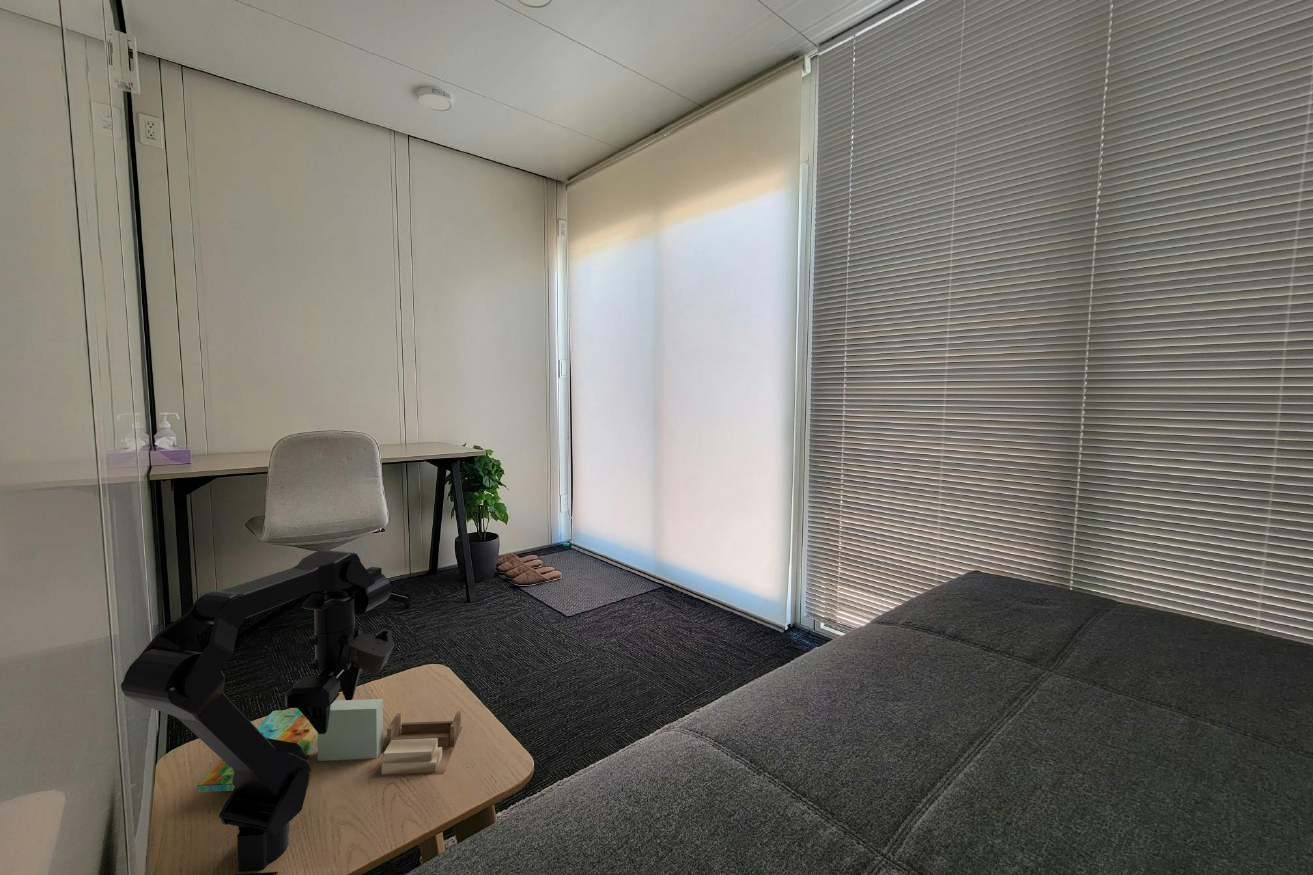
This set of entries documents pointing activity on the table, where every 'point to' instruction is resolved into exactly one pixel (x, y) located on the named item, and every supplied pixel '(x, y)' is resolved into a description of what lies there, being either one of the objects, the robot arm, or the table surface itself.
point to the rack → (422, 730)
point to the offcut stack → (412, 756)
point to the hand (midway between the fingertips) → (336, 715)
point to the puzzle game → (274, 727)
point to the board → (352, 730)
